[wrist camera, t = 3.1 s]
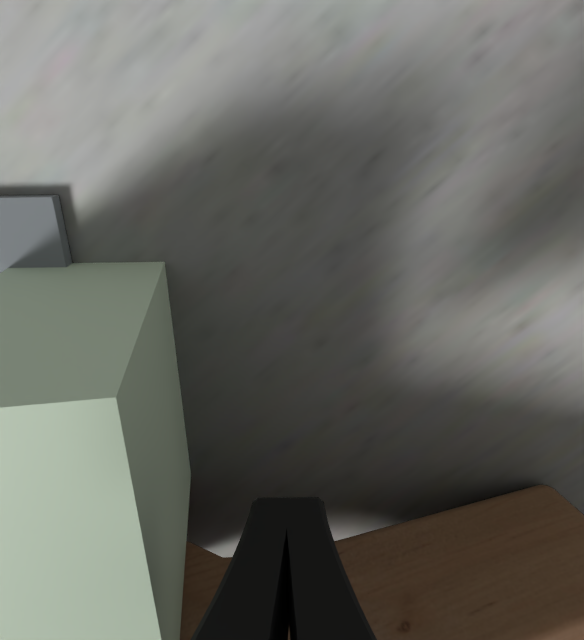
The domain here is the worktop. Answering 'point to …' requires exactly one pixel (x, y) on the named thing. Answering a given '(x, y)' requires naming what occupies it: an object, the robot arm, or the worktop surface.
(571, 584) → the wooden block
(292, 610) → the robot arm
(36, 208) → the mat
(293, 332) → the worktop surface
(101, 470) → the sage block
